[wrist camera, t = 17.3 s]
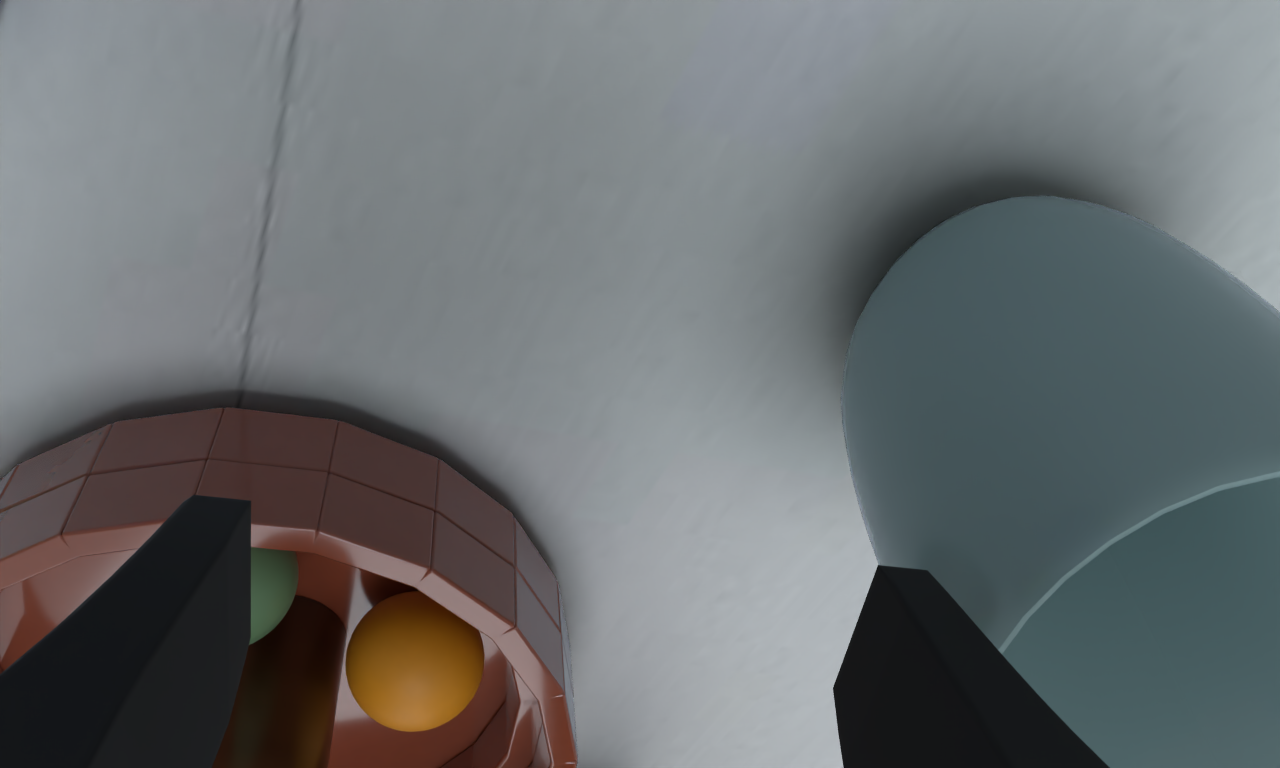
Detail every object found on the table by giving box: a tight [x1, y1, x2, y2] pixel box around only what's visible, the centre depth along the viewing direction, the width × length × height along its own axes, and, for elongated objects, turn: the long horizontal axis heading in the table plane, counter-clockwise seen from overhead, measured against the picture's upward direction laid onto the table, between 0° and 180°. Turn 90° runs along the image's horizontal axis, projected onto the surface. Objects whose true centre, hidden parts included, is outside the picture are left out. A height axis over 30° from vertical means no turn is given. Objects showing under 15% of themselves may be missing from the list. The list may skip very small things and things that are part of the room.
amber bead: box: [345, 591, 485, 732], centre depth 25 cm, size 3×3×3 cm
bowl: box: [0, 407, 578, 768], centre depth 26 cm, size 14×14×4 cm
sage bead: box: [249, 547, 299, 645], centre depth 23 cm, size 3×3×3 cm
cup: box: [841, 196, 1280, 768], centre depth 20 cm, size 8×8×10 cm
